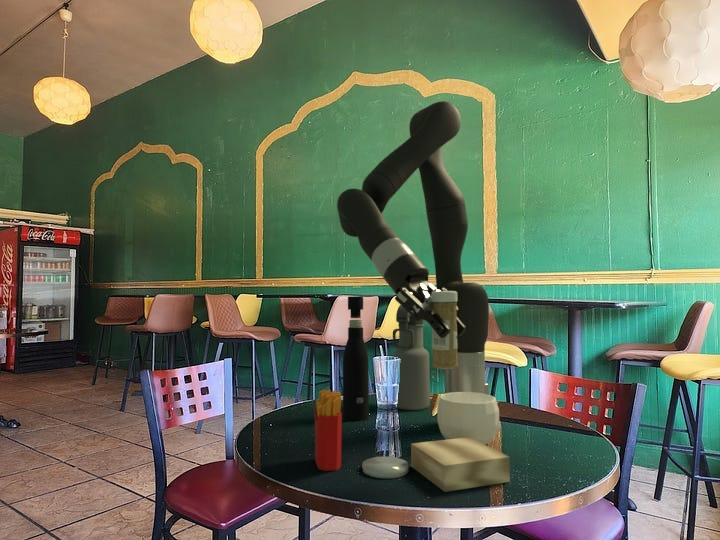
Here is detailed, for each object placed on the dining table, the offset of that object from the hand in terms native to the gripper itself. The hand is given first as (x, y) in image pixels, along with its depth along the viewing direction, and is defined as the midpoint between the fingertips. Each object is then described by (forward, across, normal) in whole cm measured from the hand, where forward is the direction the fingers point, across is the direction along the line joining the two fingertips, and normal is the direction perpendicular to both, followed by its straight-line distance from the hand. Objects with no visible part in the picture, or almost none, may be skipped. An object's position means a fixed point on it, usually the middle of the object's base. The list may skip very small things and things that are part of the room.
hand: (454, 333), depth 86 cm
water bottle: (-8, +34, +43) cm, 55 cm away
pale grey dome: (+10, -7, +24) cm, 27 cm away
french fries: (+3, -12, +30) cm, 33 cm away
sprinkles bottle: (+3, 0, +6) cm, 7 cm away
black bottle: (-10, +15, +44) cm, 48 cm away
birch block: (+17, 0, +16) cm, 24 cm away
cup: (+12, +15, +22) cm, 29 cm away
